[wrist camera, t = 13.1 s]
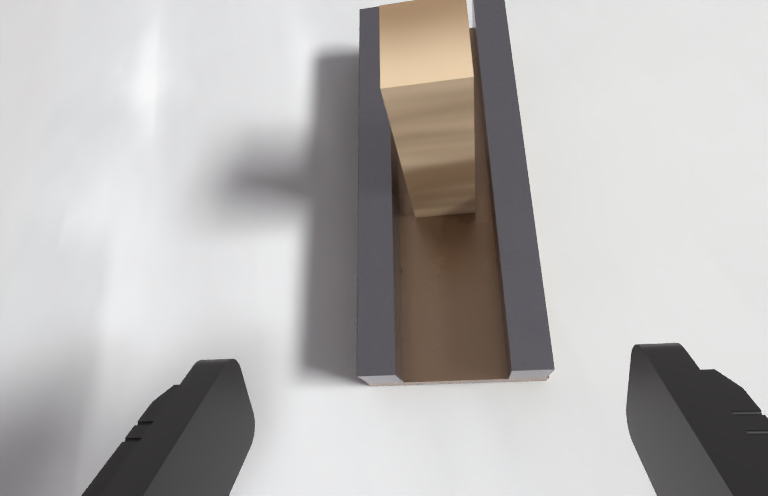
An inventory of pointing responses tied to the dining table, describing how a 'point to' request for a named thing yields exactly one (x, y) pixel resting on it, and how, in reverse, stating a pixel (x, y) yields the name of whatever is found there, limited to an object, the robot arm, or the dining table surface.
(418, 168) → the light brown wooden block
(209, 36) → the dining table surface
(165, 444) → the robot arm
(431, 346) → the door track
